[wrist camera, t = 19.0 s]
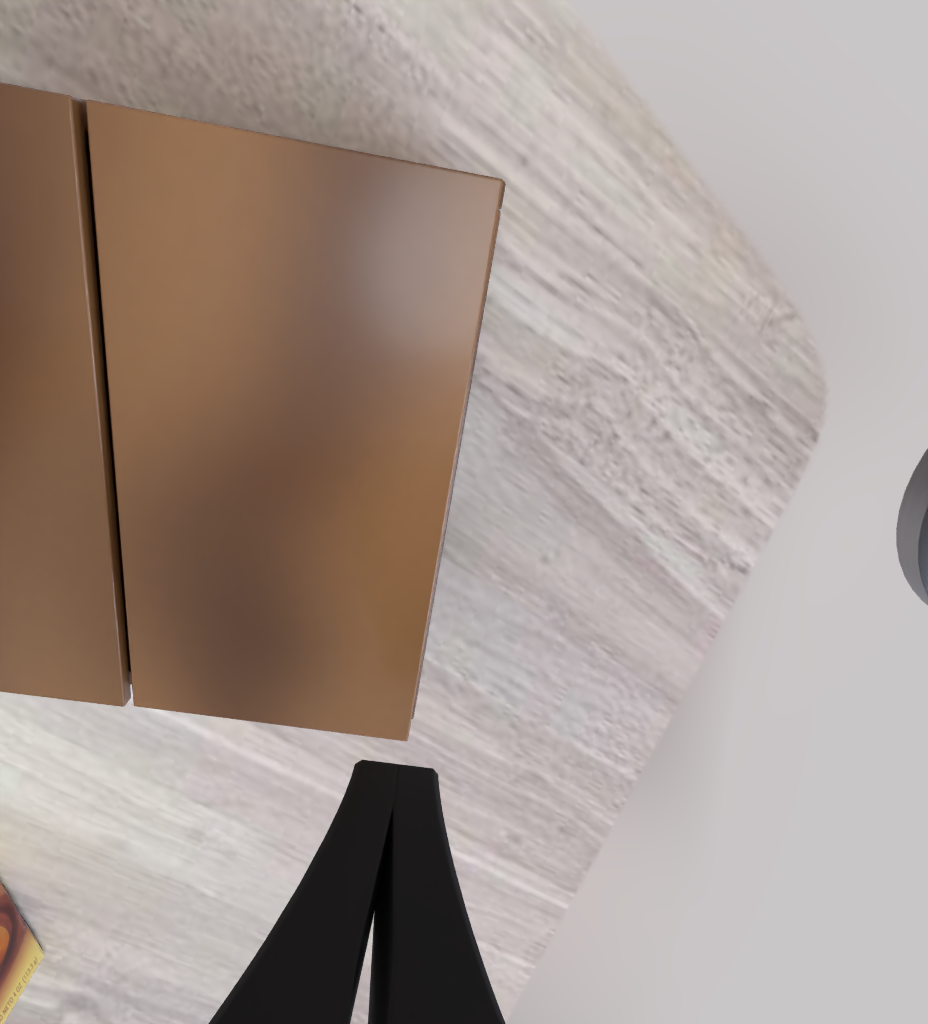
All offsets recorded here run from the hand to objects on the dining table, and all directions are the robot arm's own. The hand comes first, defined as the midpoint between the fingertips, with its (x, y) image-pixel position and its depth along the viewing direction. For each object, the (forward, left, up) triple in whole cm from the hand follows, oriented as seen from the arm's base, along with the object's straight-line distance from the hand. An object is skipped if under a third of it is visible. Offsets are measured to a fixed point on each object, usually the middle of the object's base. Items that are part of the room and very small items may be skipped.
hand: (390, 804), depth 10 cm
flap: (+3, -5, -3) cm, 6 cm away
